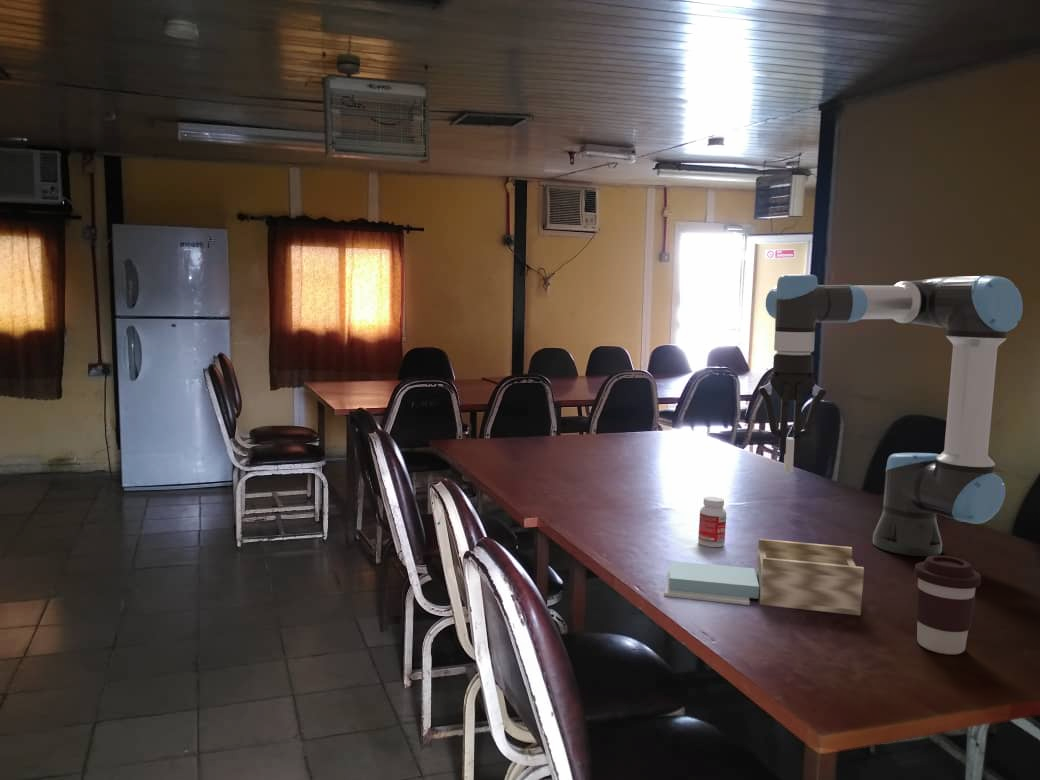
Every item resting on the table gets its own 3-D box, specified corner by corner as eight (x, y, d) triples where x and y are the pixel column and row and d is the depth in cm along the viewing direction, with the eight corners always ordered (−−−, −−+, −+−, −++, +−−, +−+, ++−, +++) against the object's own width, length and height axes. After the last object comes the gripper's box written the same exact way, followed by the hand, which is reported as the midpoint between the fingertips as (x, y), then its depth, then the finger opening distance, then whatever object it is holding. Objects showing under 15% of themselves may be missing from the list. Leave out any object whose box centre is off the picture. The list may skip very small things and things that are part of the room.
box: (848, 590, 167) (851, 547, 166) (860, 615, 153) (864, 568, 152) (756, 580, 171) (758, 538, 170) (760, 604, 157) (763, 558, 156)
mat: (745, 578, 172) (745, 575, 172) (749, 605, 156) (749, 602, 156) (668, 570, 176) (668, 567, 175) (664, 595, 160) (664, 593, 160)
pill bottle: (720, 549, 192) (723, 503, 190) (694, 545, 195) (697, 499, 193) (727, 543, 197) (730, 498, 196) (702, 539, 200) (705, 494, 199)
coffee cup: (952, 635, 145) (960, 552, 144) (986, 659, 135) (995, 571, 134) (897, 634, 145) (904, 551, 143) (927, 658, 135) (935, 570, 133)
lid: (753, 579, 169) (754, 568, 169) (758, 598, 158) (759, 586, 158) (669, 571, 173) (670, 560, 172) (668, 590, 162) (669, 578, 161)
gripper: (825, 352, 165) (819, 467, 168) (758, 351, 168) (753, 464, 170) (831, 355, 158) (825, 475, 160) (760, 353, 160) (755, 472, 163)
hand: (788, 469), depth 165 cm, fingers closed
